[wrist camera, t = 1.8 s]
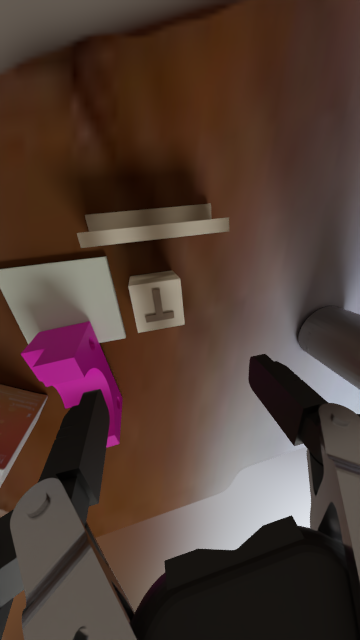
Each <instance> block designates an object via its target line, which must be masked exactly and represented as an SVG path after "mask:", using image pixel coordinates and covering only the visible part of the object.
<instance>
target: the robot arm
mask: <svg viewBox="0 0 360 640" xmlns="http://www.w3.org/2000/svg"><path fill="white" fill-rule="evenodd" d="M298 341H299V345H300V347H301V348H302V349H303V350H304V351H305V352H307V353H308V354H309V355H311V356H312V357H314V358H315V359H317V360H318V361H320V362H321V363H322V364H324V365H325V366H327V367H328V368H329V369H331V370H332V371H334V372H335V373H337V374H338V375H339V376H341V377H342V378H344V379H345V380H347V381H348V382H350V383H351V384H352V385H354V386H355V387H357V388H358V389H360V315H359V314H356V313H354V312H351V311H348V310H344V309H341V308H339V307H336V306H327V307H324V308H321V309H319V310H317V311H316V312H314V313H313V314H312V315H311V316H310V317H309V318H308V319H307V320H306V321H305V323H304V324H303V325H302V328H301V330H300V333H299V338H298ZM249 384H250V386H251V388H252V390H253V391H254V393H255V394H256V395H257V397H258V398H259V399H260V401H261V402H262V403H263V405H264V406H265V407H266V409H267V410H268V411H269V413H270V414H271V415H272V417H273V418H274V420H275V421H276V422H277V424H278V425H279V426H280V428H281V429H282V430H283V432H284V433H285V434H286V436H287V437H288V438H289V440H290V441H291V442H292V444H293V445H294V446H296V445H300V444H303V443H304V445H305V446H306V447H307V461H308V472H309V482H310V492H311V511H310V528H306V527H302V526H297V524H296V522H295V520H294V519H293V517H292V516H289V517H286V518H283V519H280V520H278V521H275V522H272V523H269V524H267V525H264V526H262V527H261V528H260V529H259V530H258V531H257V532H255V533H254V534H253V535H252V536H251V537H250V538H249V539H248V540H247V541H246V542H244V543H243V544H242V545H241V546H240V547H239V548H238V549H236V550H211V549H196V550H194V551H191V552H188V553H185V554H182V555H180V556H177V557H174V558H171V559H168V560H165V573H164V574H163V575H162V576H160V577H159V578H158V580H157V581H156V582H155V583H154V584H153V585H152V586H151V588H150V589H149V590H148V592H147V593H146V594H145V596H144V597H143V599H142V601H141V603H140V605H139V606H138V608H137V610H136V612H134V610H133V608H132V606H131V604H130V602H129V600H128V598H127V596H126V595H125V593H124V591H123V589H122V587H121V585H120V584H119V582H118V580H117V579H116V577H115V575H114V573H113V571H112V570H111V568H110V566H109V564H108V562H107V560H106V558H105V556H104V554H103V552H102V550H101V548H100V546H99V545H98V543H97V541H96V539H95V537H94V535H93V533H92V531H91V529H90V527H89V525H88V523H87V521H86V519H87V513H88V507H89V506H91V505H95V504H98V503H99V496H100V489H101V482H102V474H103V467H104V460H105V453H106V446H107V439H108V432H109V425H110V415H109V410H108V407H107V405H106V402H105V399H104V396H103V393H102V391H101V389H97V390H93V391H88V392H84V393H83V394H82V397H81V400H80V403H79V405H76V406H72V408H71V409H70V410H69V411H68V413H67V414H66V415H65V416H64V418H63V421H62V423H61V426H60V430H59V431H58V434H57V436H56V440H55V441H54V444H53V446H52V449H51V451H50V454H49V456H48V459H47V461H46V464H45V467H44V469H43V472H42V474H41V477H40V479H39V481H38V483H37V484H35V485H34V486H33V487H32V488H30V489H29V490H28V491H27V492H26V493H25V494H24V495H23V497H22V498H21V499H20V500H19V502H18V503H17V505H16V507H15V509H14V510H12V511H11V512H9V513H7V514H6V515H4V516H2V517H1V518H0V640H1V638H2V635H3V632H4V628H5V625H6V621H7V618H8V615H9V611H10V608H11V605H12V602H13V598H14V597H15V596H16V595H17V594H19V593H20V592H21V591H23V590H24V591H25V595H26V608H25V609H24V611H23V614H22V628H23V635H24V640H360V414H356V413H354V412H353V411H352V410H350V409H348V408H346V407H344V406H342V405H338V404H334V403H328V402H327V401H326V400H324V399H323V398H322V397H321V396H320V395H319V394H318V393H316V392H315V391H314V390H313V389H312V388H311V387H310V386H308V385H307V384H306V383H305V382H304V381H303V380H301V379H300V378H299V377H298V376H297V375H296V374H294V372H293V371H291V370H290V369H289V368H288V367H287V366H285V365H283V364H281V363H279V362H277V361H275V362H274V361H273V360H271V359H270V358H269V357H268V356H267V355H266V354H262V355H257V356H253V357H251V358H250V364H249Z"/></svg>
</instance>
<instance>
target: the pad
mask: <svg viewBox="0 0 360 640" xmlns="http://www.w3.org/2000/svg"><path fill="white" fill-rule="evenodd" d="M0 289H1V291H2V293H3V295H4V297H5V299H6V301H7V303H8V305H9V307H10V309H11V311H12V313H13V315H14V317H15V319H16V321H17V323H18V325H19V327H20V329H21V331H22V333H23V335H24V337H25V339H26V341H27V343H28V345H29V343H30V342H31V341H32V340H33V339H34V337H35V336H36V335H37V334H38V333H39V332H42V331H46V330H51V329H56V328H60V327H65V326H70V325H75V324H79V323H84V322H89V321H90V323H91V325H92V328H93V330H94V332H95V335H96V337H97V339H98V342H99V343H101V342H107V341H112V340H118V339H123V338H126V333H125V329H124V325H123V321H122V317H121V313H120V309H119V305H118V301H117V297H116V293H115V289H114V285H113V281H112V277H111V273H110V268H109V264H108V260H107V256H104V257H95V258H87V259H79V260H70V261H62V262H54V263H46V264H37V265H29V266H21V267H13V268H4V269H0Z"/></svg>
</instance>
